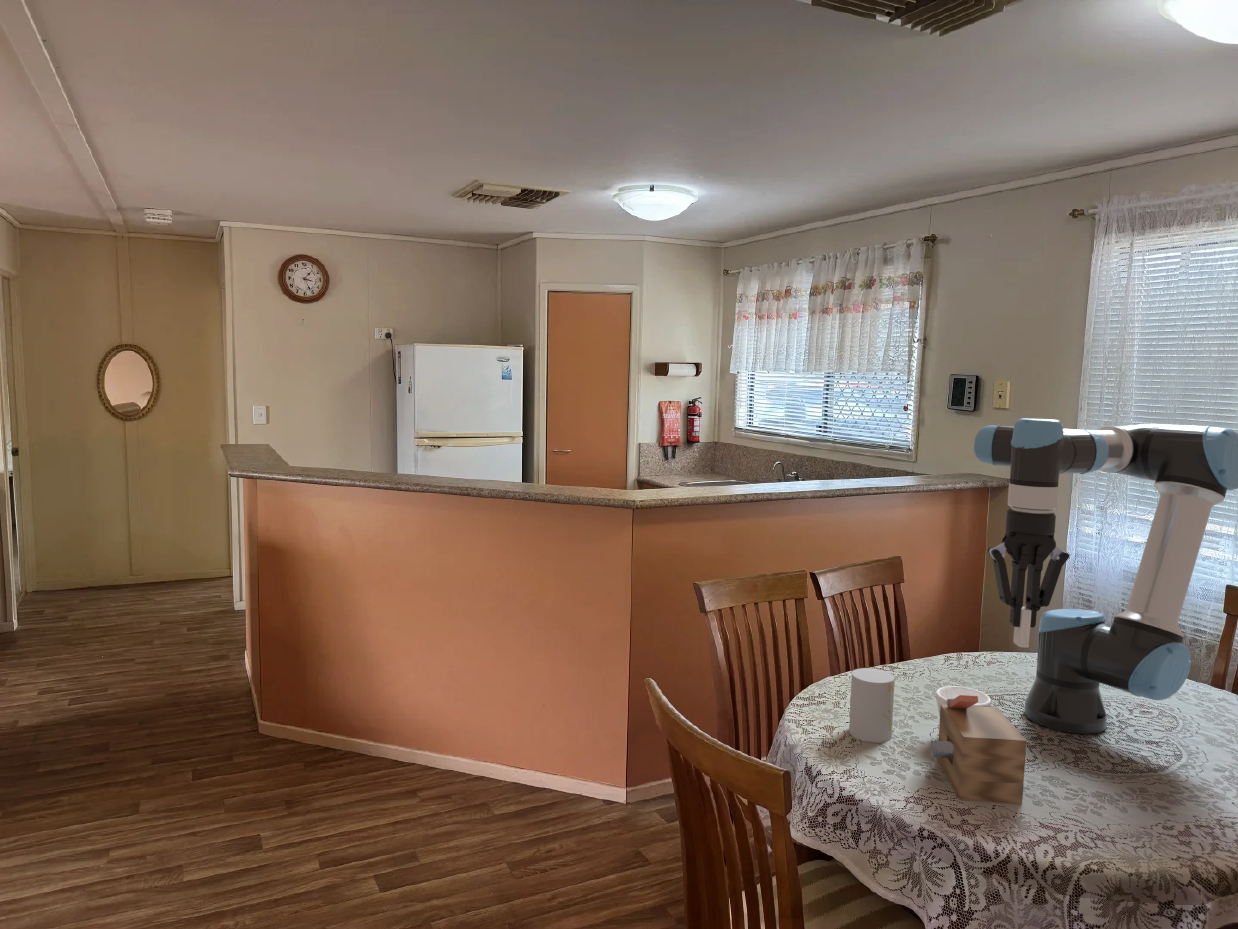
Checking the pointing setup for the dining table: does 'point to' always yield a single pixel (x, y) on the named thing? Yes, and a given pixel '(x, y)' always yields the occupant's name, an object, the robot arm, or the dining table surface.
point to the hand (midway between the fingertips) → (1020, 644)
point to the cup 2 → (955, 691)
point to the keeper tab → (962, 701)
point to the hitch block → (983, 754)
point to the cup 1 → (871, 705)
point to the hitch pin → (942, 749)
